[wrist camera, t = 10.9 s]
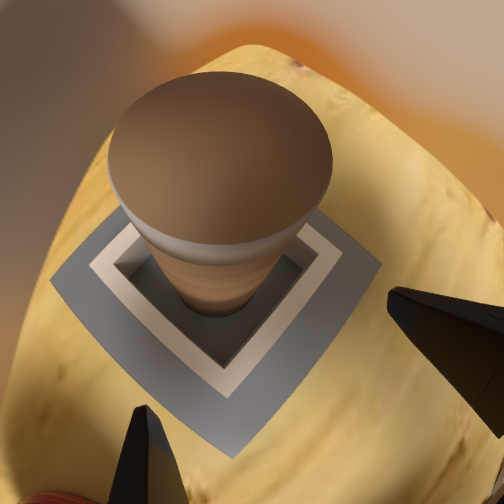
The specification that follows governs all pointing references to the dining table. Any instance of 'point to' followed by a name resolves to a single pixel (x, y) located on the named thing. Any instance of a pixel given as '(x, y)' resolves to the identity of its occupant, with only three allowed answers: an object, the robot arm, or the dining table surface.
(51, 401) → the dining table surface
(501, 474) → the pliers
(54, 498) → the canister
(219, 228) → the brown upright cylinder
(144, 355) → the docking plate
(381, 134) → the dining table surface
